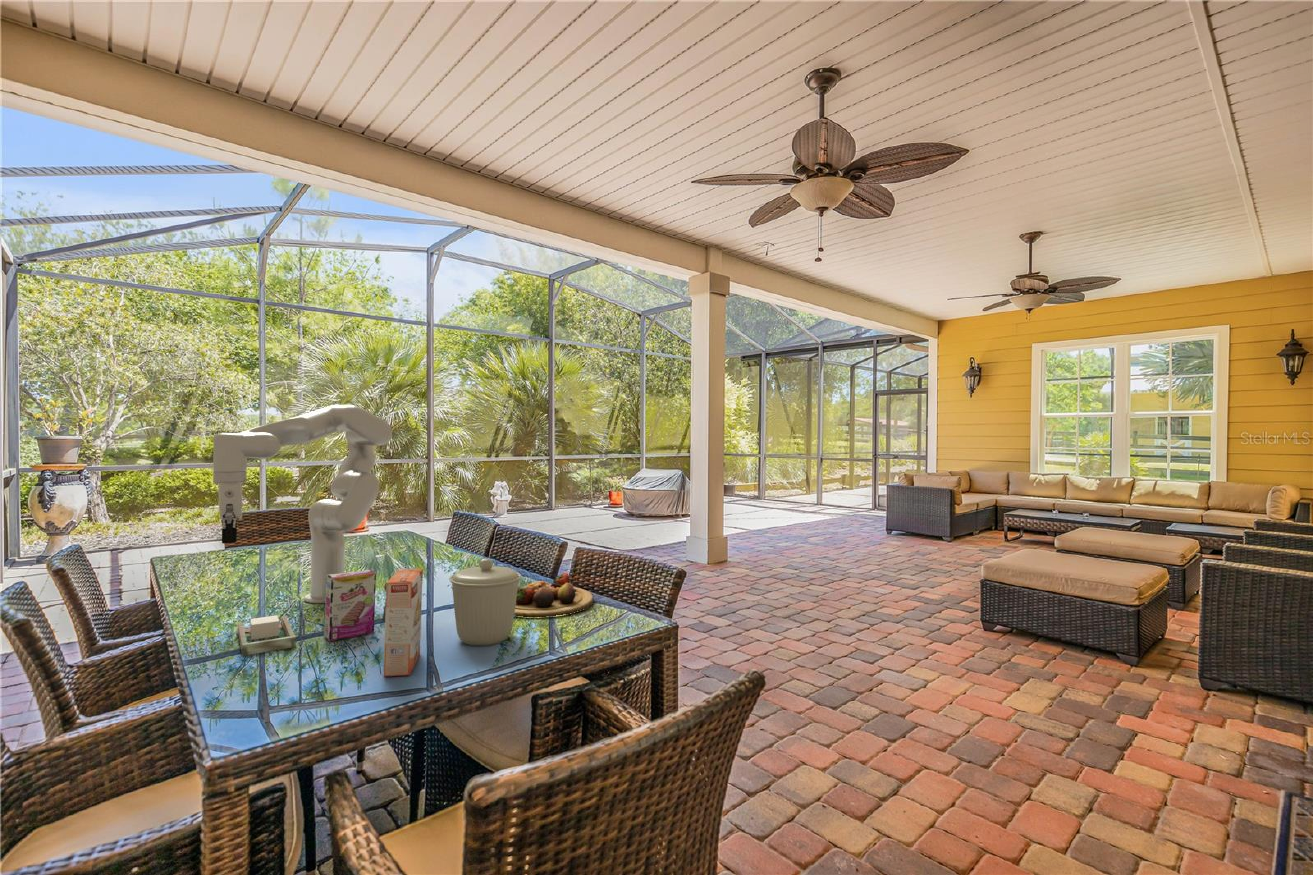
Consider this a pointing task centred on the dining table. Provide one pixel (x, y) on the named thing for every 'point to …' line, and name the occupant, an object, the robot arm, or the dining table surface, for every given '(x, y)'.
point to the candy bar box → (349, 604)
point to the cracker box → (402, 622)
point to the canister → (484, 602)
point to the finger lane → (267, 644)
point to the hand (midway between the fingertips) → (229, 540)
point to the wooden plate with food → (551, 598)
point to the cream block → (264, 627)
